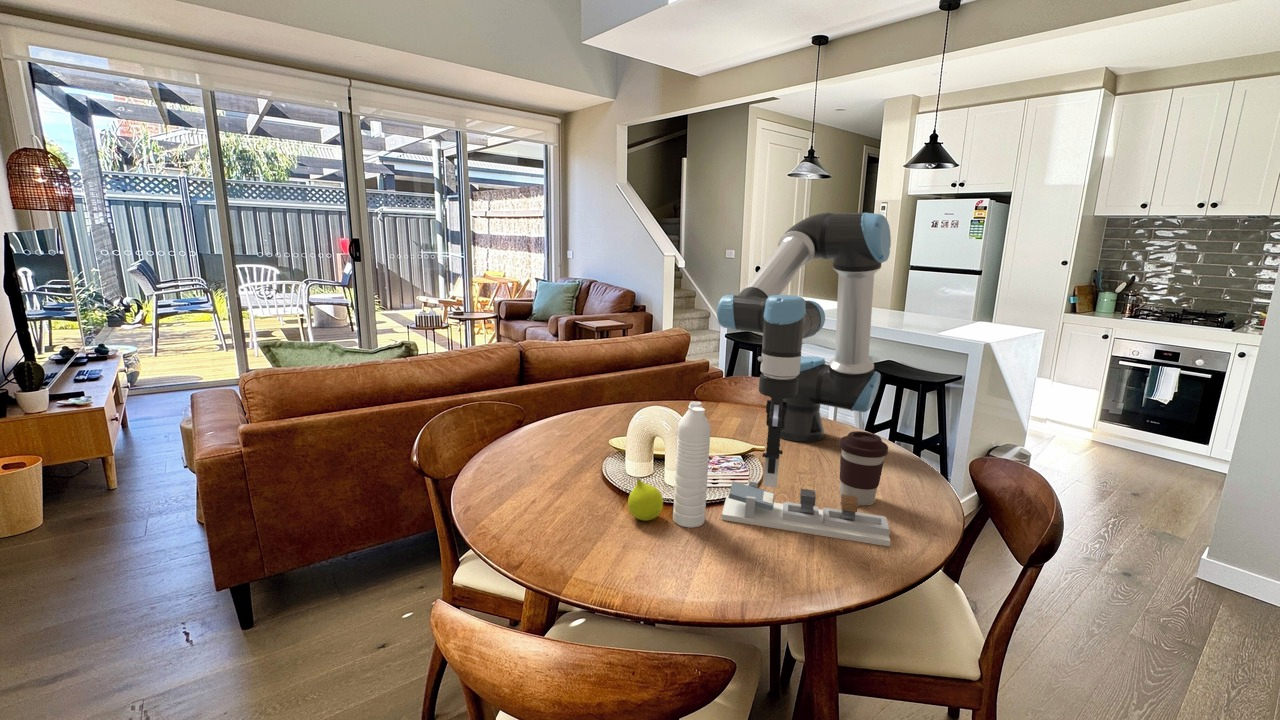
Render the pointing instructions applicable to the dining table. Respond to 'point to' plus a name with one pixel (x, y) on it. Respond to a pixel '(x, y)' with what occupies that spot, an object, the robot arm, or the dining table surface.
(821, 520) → the panel
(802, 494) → the slider
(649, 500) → the ornament
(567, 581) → the dining table surface
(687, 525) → the water bottle
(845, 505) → the slider
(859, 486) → the coffee cup
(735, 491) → the rocker
